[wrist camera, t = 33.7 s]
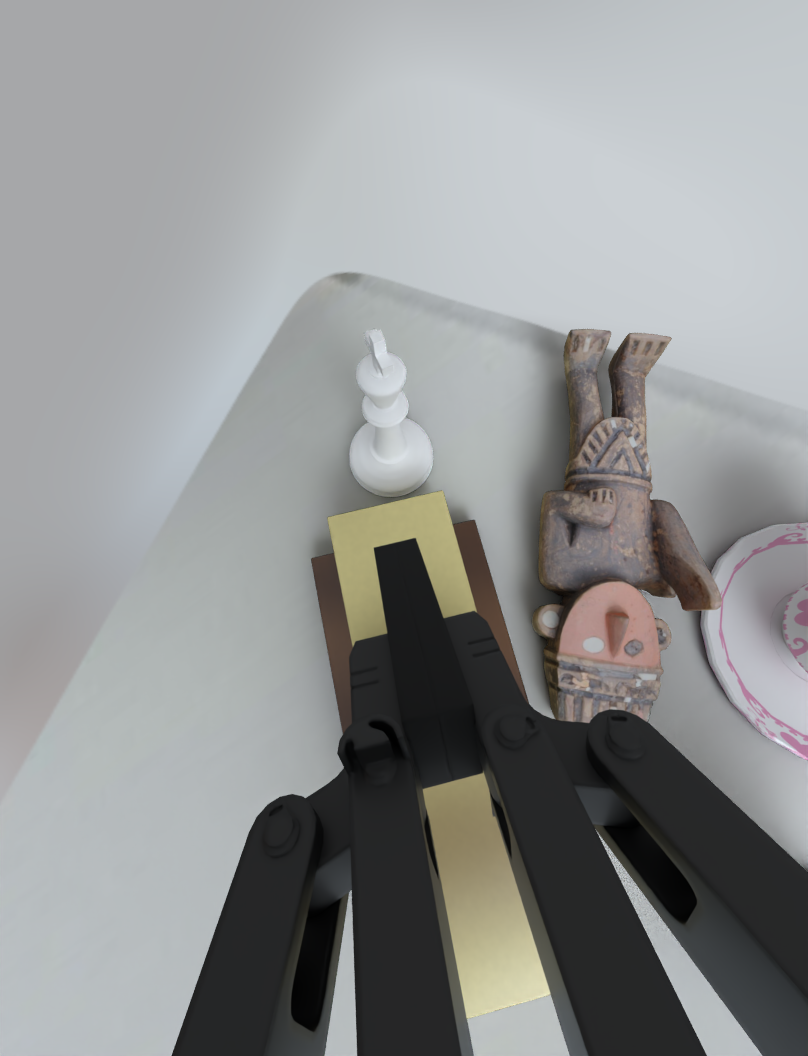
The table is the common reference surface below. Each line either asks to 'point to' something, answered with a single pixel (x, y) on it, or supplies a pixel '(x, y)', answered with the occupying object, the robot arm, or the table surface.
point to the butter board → (460, 819)
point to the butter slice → (390, 525)
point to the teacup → (764, 632)
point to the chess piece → (387, 427)
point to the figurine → (611, 543)
